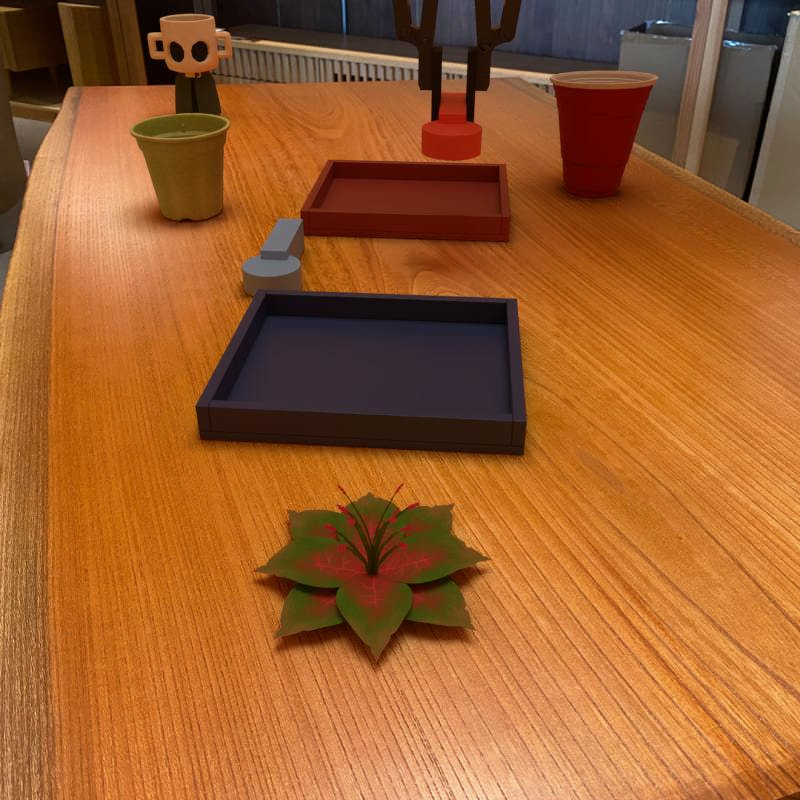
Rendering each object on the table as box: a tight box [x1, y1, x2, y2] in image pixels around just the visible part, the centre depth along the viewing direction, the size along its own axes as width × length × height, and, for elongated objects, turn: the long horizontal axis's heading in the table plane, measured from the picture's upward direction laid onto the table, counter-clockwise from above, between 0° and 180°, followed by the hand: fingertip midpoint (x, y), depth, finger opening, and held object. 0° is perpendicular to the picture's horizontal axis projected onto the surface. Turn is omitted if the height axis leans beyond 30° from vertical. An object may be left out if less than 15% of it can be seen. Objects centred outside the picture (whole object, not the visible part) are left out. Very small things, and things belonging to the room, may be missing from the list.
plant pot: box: [128, 113, 231, 222], centre depth 83 cm, size 9×9×9 cm
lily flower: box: [251, 478, 493, 662], centre depth 40 cm, size 12×12×5 cm
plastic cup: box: [549, 70, 659, 198], centre depth 88 cm, size 11×11×12 cm
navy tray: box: [194, 289, 528, 456], centre depth 57 cm, size 20×17×2 cm
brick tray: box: [299, 159, 512, 242], centre depth 85 cm, size 20×17×2 cm
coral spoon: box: [420, 91, 483, 162], centre depth 69 cm, size 5×11×3 cm, turn 176°
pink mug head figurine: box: [147, 13, 234, 116], centre depth 113 cm, size 11×7×13 cm, turn 96°
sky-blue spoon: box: [241, 217, 306, 298], centre depth 72 cm, size 5×11×3 cm, turn 175°
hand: (452, 129), depth 72 cm, fingers closed on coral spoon, 2 cm apart
